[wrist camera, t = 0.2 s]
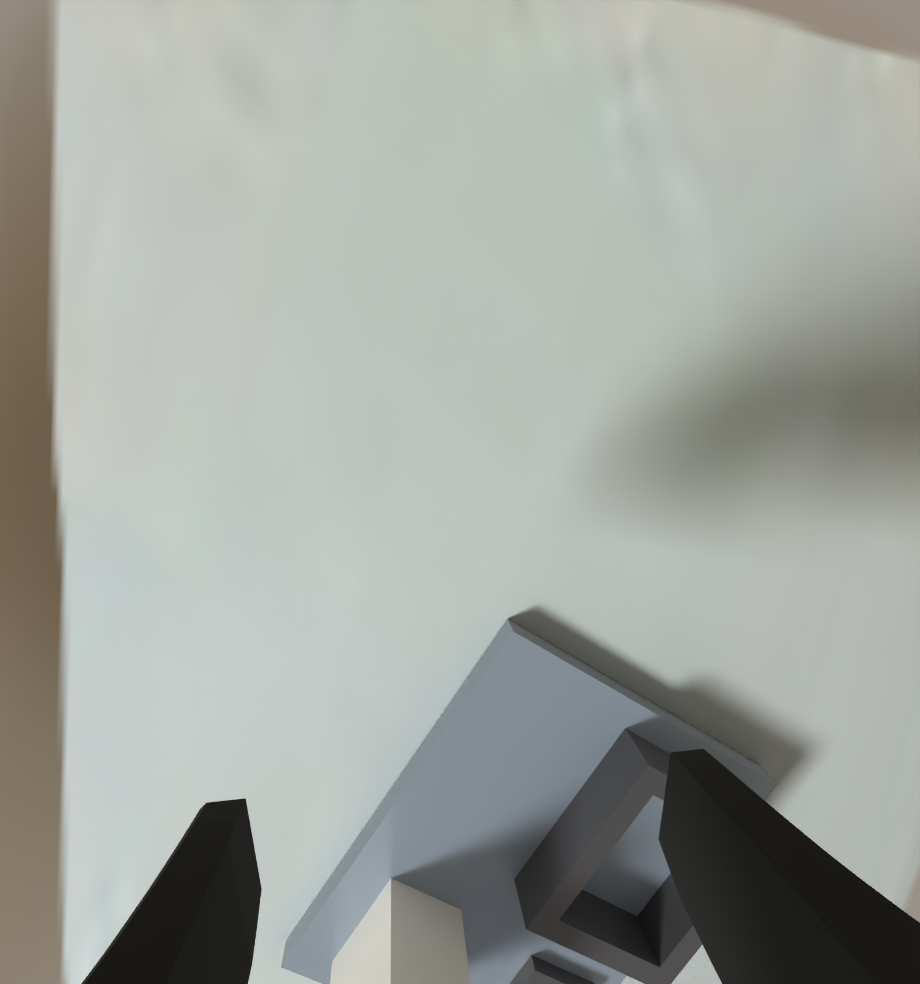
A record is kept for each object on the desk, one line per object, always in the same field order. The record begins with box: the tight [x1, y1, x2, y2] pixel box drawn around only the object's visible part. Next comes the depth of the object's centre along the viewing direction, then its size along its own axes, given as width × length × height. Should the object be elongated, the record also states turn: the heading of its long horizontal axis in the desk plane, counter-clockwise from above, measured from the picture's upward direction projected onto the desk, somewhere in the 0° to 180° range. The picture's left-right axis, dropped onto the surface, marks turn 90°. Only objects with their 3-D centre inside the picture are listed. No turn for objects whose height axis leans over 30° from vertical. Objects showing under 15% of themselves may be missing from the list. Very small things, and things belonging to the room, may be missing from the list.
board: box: [281, 619, 777, 984], centre depth 22 cm, size 15×12×2 cm
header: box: [514, 728, 702, 984], centre depth 21 cm, size 7×6×2 cm
